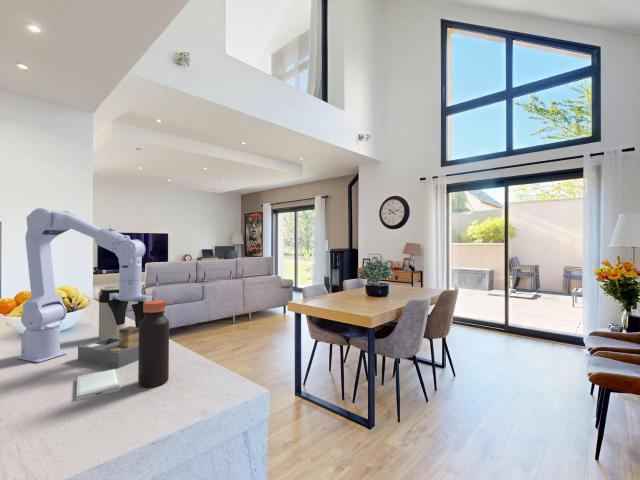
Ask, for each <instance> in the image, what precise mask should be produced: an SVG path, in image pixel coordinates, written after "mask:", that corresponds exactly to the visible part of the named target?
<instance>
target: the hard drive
mask: <svg viewBox="0 0 640 480" xmlns="http://www.w3.org/2000/svg"><path fill="white" fill-rule="evenodd" d="M115 392H120V383H119V380H118V375H117V371H116V369H108V370H104V371H99V372H94V373H89V374H83V375H79V376H77V378H76V396H75V397H76V399H75V400H76V402H77V401H80V400H85V399H89V398H94V397H98V396H102V395H107V394H113V393H115Z"/></svg>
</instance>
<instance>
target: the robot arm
mask: <svg viewBox="0 0 640 480" xmlns="http://www.w3.org/2000/svg"><path fill="white" fill-rule="evenodd" d="M26 225H27V230H26V233H25V238H24V239H25V246H26V247H25V249H26V257H27V265H28V267H27V268H28V276H29V286H30V297H29V298H28V299H27V300H26V301H25V302H24V303H23V304H22V307H23V309H22V313H21V316H20V320H21V321H20V322H21V324H22V326H24V327H25V329H24V331H23V332H22V333H21V339H20V341H21V342H20V348H21V349H20V355H18V356H17V357H16V358H17V359H18V360H23V361H28V362H33V363H40V362H44V361H47V360H52V359H54V358H57V357H60V356H64V355H67V354H68V352H67V351H64V350H61V325H62V323H63V320H64V319H65V318H66V316H67V314H68V313H67V312H68V310H67V308H66V306H65V304H64V301H63V297H62V296H60V295H59V294H58V293H56V288H55V287H56V286H55V279H54V266H53V255H52V249H51V248H52V246H51V242H52V241H53V240H54V239H55V238H57V237H58V236H60V235H62V234H64V233H65V232H68V231H71V230H74V231H76V232H77V233H81V234H83V235H85V236H88V237H90V238H92V239H94V242H95V244H96V245H98V246H100V247H102V248H104V249H106V250H108V251H110V252H112V253H114V254H115V256H116V257H117V258H118V259H117V260H118V264H119V269H118V270H119V274H118V275H119V278H118V282H119V283H118V286H119V293H112V294H110V296H109V300H112V302H109V303H108V306H109V307H110V308H111V310H112V312H113V315H114V318H115V321H116V324H117V325H121V324H124V323H125V324H126V315H127V314H126V313H127V308H128V305H129V302H132V304H131V308H132V310H133V314H134V324H135V327H136V328H139V323H140V321H141V320H142V319H143V318H144V317H145V314H143V313H144V312H143V303H144V302H147V301H153V295H147V294H143V293H142V276H143V275H142V274H143V273H142V268H143V267H142V266H143V265H142V262H143V261H142V260H143V259H142V258H143V256H144V255H145V254H146V249H147V248H146V245H145V243H144V242H143V241H141V240H140V239H131V237H130V235H126V234H125V235H124V234H122V233H120V232H118V231H117V229H116V228H115V227H103V228H100V227H98V226H97V225H95V224H93V223H91V222H89V221H87V220H86V219H84V218H82V217H80V216H78V215H77V214H75V213H71V212H70V211H66V210H57V209H56V210H55V209H46V208H36V209H34V210H33V211H31V212H30V213H29V214H28V215H27V216H26ZM133 302H134V303H133Z"/></svg>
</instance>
